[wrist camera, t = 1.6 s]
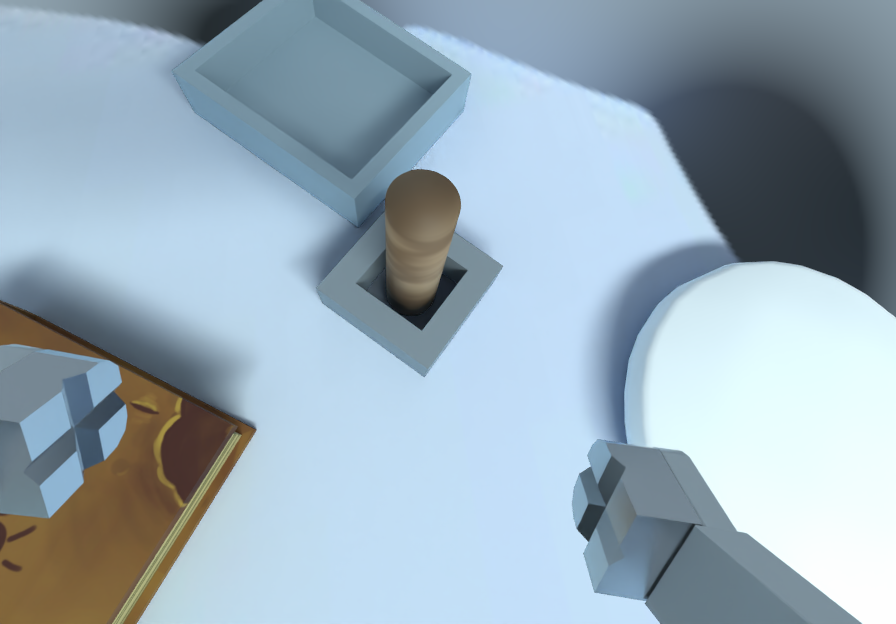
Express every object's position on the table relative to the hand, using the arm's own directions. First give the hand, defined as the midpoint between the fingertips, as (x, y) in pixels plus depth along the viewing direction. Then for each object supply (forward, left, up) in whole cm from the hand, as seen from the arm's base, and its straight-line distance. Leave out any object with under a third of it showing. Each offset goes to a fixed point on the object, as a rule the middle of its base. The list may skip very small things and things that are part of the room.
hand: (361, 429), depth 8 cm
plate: (+25, +20, -27) cm, 42 cm away
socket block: (-6, +11, -26) cm, 29 cm away
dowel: (-6, +11, -27) cm, 29 cm away
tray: (-22, +21, -27) cm, 40 cm away
